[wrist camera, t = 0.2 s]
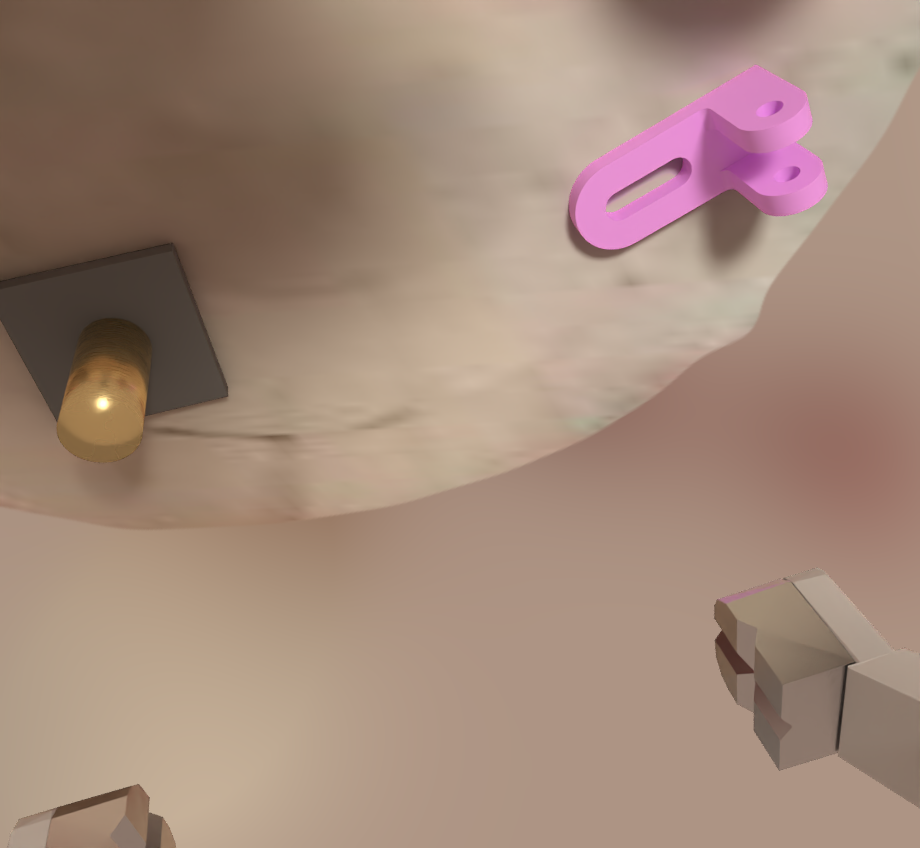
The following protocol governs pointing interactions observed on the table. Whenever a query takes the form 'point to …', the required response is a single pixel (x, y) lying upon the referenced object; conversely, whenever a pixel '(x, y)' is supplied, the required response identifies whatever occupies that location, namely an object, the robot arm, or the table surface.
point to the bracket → (707, 161)
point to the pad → (114, 296)
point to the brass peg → (106, 391)
